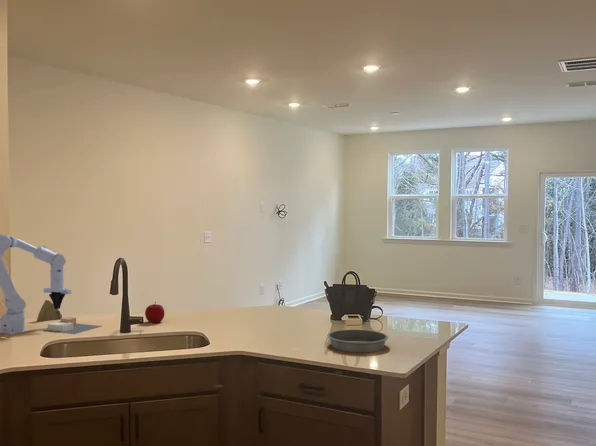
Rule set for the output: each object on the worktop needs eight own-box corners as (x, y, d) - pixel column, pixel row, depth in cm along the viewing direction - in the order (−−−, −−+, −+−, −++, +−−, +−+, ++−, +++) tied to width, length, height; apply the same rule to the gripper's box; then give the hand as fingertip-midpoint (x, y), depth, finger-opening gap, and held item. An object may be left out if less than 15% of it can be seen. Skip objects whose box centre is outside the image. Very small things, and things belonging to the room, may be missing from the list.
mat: (74, 335, 243) (74, 334, 243) (39, 331, 250) (39, 330, 250) (102, 327, 260) (102, 326, 260) (68, 323, 267) (68, 322, 267)
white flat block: (63, 331, 248) (63, 325, 248) (47, 329, 251) (47, 323, 251) (73, 328, 253) (73, 322, 253) (57, 327, 256) (57, 321, 256)
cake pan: (399, 345, 229) (399, 334, 229) (365, 357, 211) (365, 345, 211) (351, 336, 246) (351, 326, 245) (315, 346, 227) (315, 335, 227)
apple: (167, 320, 277) (167, 300, 277) (160, 324, 268) (160, 303, 268) (149, 319, 278) (149, 299, 278) (142, 323, 269) (142, 302, 269)
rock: (68, 314, 279) (52, 310, 283) (62, 302, 274) (46, 298, 277) (54, 330, 272) (38, 326, 275) (47, 318, 266) (31, 314, 270)
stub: (68, 328, 255) (68, 319, 255) (60, 327, 257) (60, 318, 256) (76, 326, 259) (76, 317, 259) (67, 325, 261) (67, 316, 261)
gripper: (75, 279, 261) (75, 308, 261) (51, 277, 266) (51, 306, 266) (64, 281, 254) (64, 310, 254) (39, 279, 259) (40, 308, 260)
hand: (57, 308), depth 260 cm, fingers closed
